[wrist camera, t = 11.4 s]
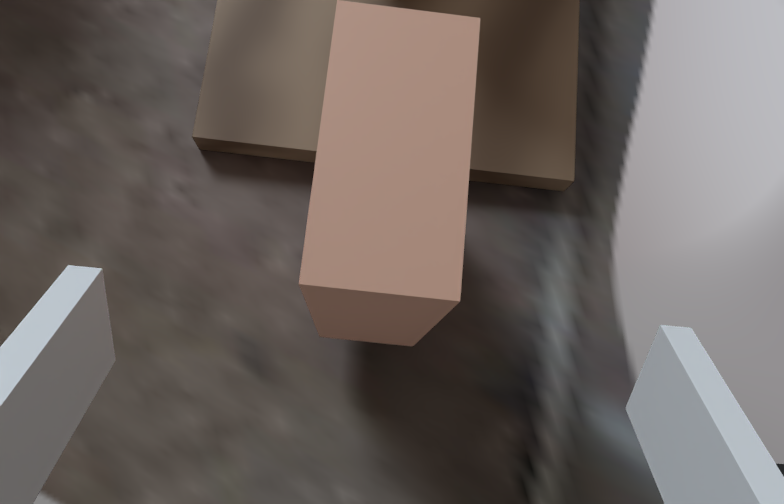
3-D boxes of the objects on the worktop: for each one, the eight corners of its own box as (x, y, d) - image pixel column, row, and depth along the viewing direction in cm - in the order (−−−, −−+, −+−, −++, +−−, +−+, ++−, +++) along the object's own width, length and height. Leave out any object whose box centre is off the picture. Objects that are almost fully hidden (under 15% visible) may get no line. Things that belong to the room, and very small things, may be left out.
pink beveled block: (319, 336, 27) (298, 283, 16) (341, 161, 29) (337, -1, 18) (412, 346, 28) (460, 301, 16) (428, 172, 29) (480, 17, 18)
